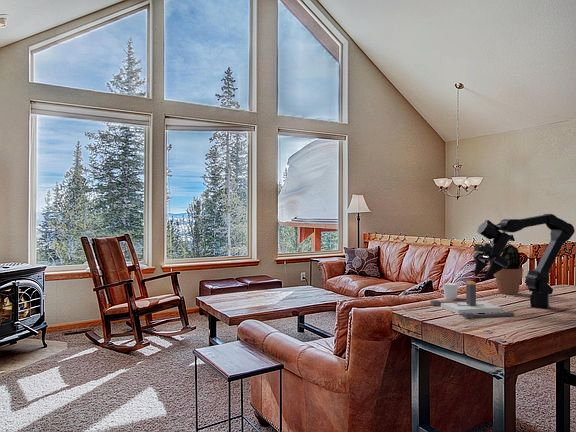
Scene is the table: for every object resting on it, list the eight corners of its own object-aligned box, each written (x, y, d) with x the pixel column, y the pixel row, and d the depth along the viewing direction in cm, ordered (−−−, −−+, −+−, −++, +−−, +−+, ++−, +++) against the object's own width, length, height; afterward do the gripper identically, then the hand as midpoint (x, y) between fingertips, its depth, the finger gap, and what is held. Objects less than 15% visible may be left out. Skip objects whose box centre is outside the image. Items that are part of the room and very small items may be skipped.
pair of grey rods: (473, 302, 202) (473, 298, 202) (515, 316, 174) (515, 311, 174) (430, 304, 198) (430, 300, 198) (466, 318, 170) (466, 313, 170)
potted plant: (490, 290, 235) (489, 243, 235) (517, 291, 233) (516, 243, 233) (498, 295, 221) (498, 245, 221) (527, 295, 219) (527, 245, 219)
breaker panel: (482, 305, 195) (482, 301, 195) (503, 312, 181) (503, 307, 181) (440, 307, 191) (440, 302, 191) (458, 314, 178) (458, 309, 178)
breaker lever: (471, 303, 188) (471, 281, 188) (475, 305, 185) (475, 282, 185) (466, 303, 187) (466, 281, 188) (470, 305, 185) (470, 282, 185)
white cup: (459, 299, 210) (459, 285, 210) (444, 299, 211) (444, 284, 211) (456, 297, 217) (456, 282, 217) (442, 296, 218) (442, 282, 218)
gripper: (471, 234, 199) (454, 264, 198) (495, 236, 180) (476, 269, 179) (491, 247, 200) (475, 277, 199) (517, 250, 181) (499, 283, 180)
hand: (480, 276), depth 189 cm, fingers open, 9 cm apart
